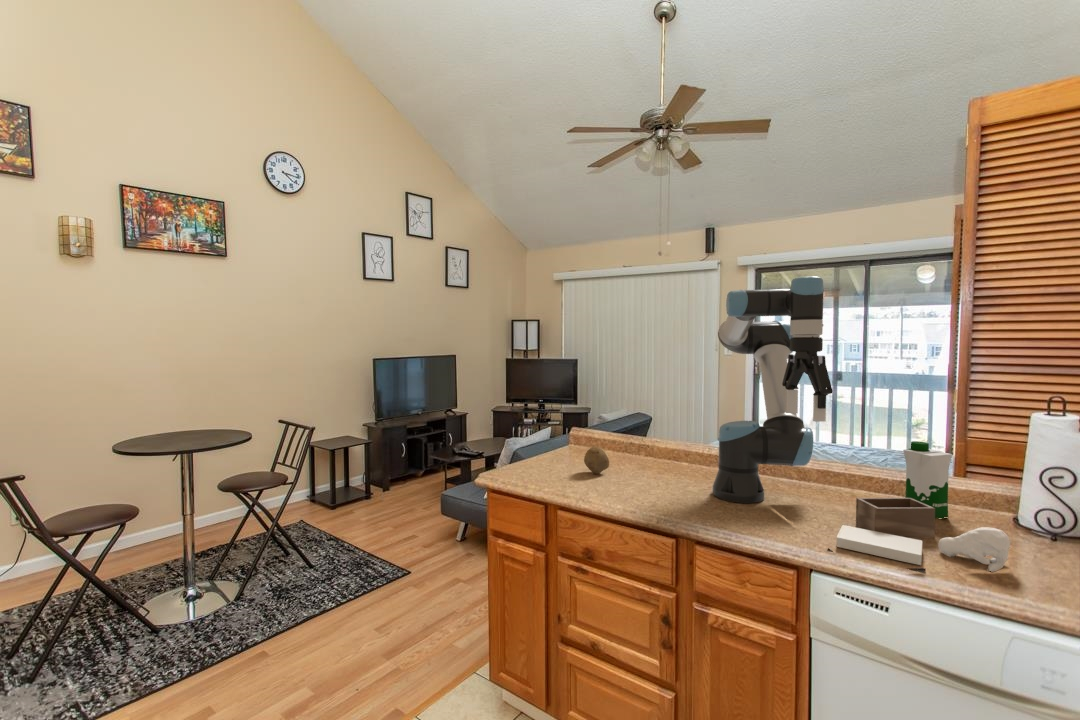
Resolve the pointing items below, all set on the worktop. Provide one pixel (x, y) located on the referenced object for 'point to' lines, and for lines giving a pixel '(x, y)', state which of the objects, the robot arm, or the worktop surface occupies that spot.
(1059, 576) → the worktop surface
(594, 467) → the brown oval lump
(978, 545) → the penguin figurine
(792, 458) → the robot arm
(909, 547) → the lid
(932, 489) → the milk carton
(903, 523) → the storage box
